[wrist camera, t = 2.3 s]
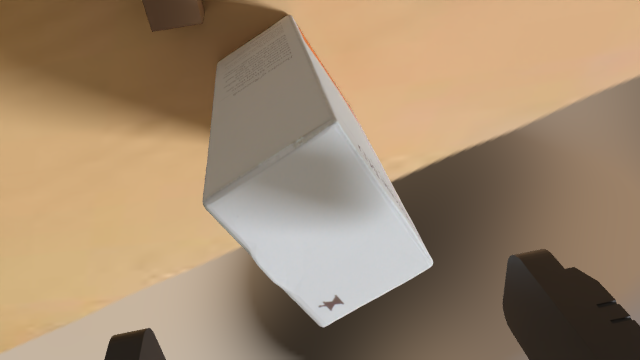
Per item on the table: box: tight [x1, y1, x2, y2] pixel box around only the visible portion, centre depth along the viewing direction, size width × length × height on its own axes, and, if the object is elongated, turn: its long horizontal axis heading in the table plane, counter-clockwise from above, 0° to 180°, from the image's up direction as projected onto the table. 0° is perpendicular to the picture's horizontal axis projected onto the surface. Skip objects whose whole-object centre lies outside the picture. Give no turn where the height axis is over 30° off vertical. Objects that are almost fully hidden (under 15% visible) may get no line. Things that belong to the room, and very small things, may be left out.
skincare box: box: [203, 15, 433, 327], centre depth 18 cm, size 6×4×12 cm
